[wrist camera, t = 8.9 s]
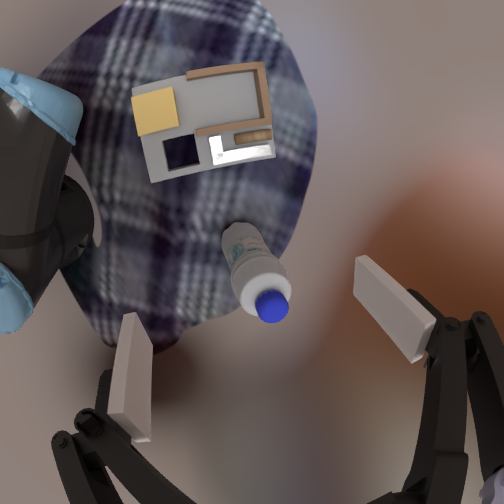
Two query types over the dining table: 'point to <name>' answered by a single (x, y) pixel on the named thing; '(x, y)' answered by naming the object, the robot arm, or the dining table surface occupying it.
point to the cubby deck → (211, 114)
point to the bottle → (256, 273)
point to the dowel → (253, 136)
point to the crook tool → (235, 151)
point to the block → (155, 111)
